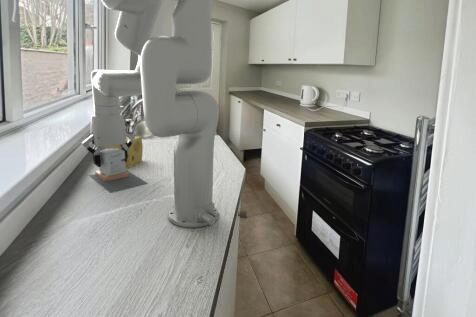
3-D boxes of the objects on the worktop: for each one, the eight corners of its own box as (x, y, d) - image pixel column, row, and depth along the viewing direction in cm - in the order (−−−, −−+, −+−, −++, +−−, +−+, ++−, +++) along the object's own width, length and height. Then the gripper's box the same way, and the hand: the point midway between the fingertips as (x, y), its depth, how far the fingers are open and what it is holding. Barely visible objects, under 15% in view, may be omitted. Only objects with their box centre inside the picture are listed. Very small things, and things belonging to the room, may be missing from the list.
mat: (148, 184, 97) (148, 183, 97) (110, 194, 89) (110, 192, 89) (124, 169, 109) (124, 168, 109) (88, 176, 101) (88, 175, 101)
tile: (128, 172, 102) (118, 166, 107) (104, 177, 96) (94, 170, 102) (128, 176, 102) (118, 169, 108) (104, 181, 97) (95, 174, 102)
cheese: (129, 169, 110) (127, 142, 107) (102, 166, 112) (100, 139, 109) (143, 161, 120) (142, 136, 117) (119, 158, 122) (117, 134, 119)
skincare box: (110, 176, 98) (108, 154, 95) (99, 172, 101) (97, 150, 99) (126, 171, 102) (125, 150, 100) (115, 167, 106) (113, 147, 103)
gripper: (128, 107, 104) (131, 156, 109) (73, 110, 92) (79, 165, 98) (138, 110, 99) (141, 161, 104) (81, 114, 87) (87, 171, 92)
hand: (111, 163), depth 101 cm, fingers open, 8 cm apart
